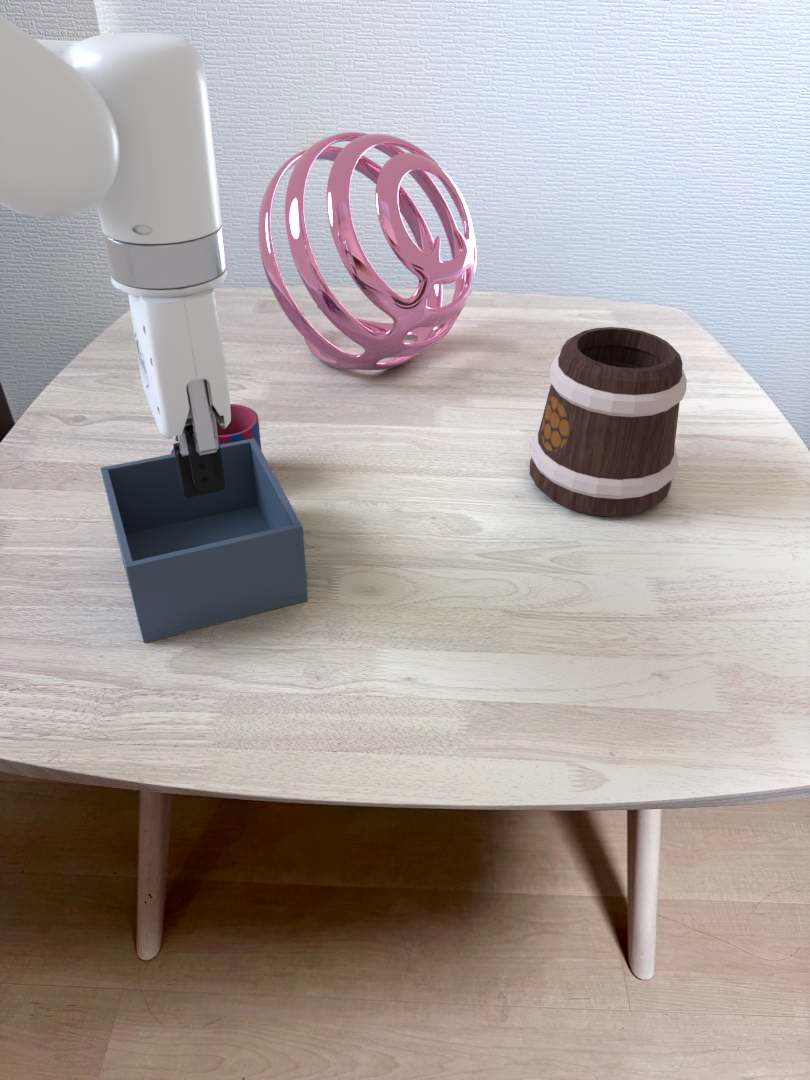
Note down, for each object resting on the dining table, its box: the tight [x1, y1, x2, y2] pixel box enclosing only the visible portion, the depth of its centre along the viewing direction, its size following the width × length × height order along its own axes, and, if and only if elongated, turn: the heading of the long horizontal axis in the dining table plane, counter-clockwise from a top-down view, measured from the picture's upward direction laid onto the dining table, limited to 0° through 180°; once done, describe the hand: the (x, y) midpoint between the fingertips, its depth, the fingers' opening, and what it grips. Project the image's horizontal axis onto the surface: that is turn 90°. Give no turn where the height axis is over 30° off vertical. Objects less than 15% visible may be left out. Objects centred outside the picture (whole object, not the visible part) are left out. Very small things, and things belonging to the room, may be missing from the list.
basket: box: [100, 438, 309, 644], centre depth 74 cm, size 8×14×15 cm
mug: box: [529, 326, 688, 518], centre depth 87 cm, size 20×15×15 cm
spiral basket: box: [257, 131, 477, 371], centre depth 105 cm, size 28×28×27 cm
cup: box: [170, 403, 263, 454], centre depth 86 cm, size 7×10×7 cm
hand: (203, 488), depth 66 cm, fingers closed
